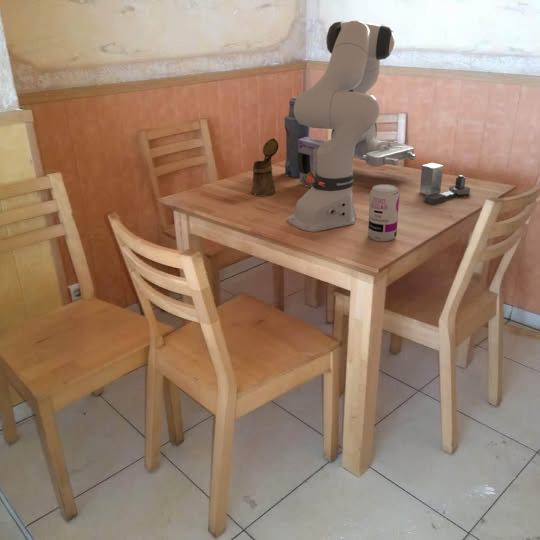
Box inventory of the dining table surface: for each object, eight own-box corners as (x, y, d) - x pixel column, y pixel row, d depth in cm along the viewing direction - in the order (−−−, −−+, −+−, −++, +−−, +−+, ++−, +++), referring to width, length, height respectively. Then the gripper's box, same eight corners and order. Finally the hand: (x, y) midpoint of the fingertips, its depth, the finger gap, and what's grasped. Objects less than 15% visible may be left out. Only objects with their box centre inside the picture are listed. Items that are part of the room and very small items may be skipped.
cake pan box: (297, 183, 213) (296, 137, 205) (307, 181, 216) (307, 135, 208) (327, 196, 199) (328, 147, 191) (339, 193, 201) (340, 144, 193)
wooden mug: (285, 186, 210) (284, 139, 202) (267, 197, 199) (266, 147, 191) (265, 183, 214) (263, 137, 206) (246, 194, 204) (244, 145, 196)
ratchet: (457, 189, 200) (459, 171, 198) (473, 194, 195) (476, 176, 192) (420, 200, 191) (422, 182, 188) (436, 205, 186) (438, 187, 183)
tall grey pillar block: (430, 196, 195) (433, 168, 190) (419, 192, 199) (422, 165, 194) (440, 193, 197) (443, 165, 193) (429, 189, 201) (431, 162, 197)
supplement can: (394, 231, 167) (398, 183, 161) (397, 242, 160) (401, 192, 153) (367, 231, 168) (369, 183, 162) (368, 242, 161) (371, 192, 154)
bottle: (283, 172, 227) (281, 96, 214) (306, 170, 229) (306, 94, 215) (288, 178, 219) (286, 100, 206) (312, 176, 220) (312, 98, 207)
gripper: (358, 149, 207) (385, 156, 197) (398, 139, 217) (425, 146, 207) (358, 165, 210) (384, 174, 200) (397, 155, 220) (423, 163, 210)
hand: (405, 159), depth 203 cm, fingers open, 8 cm apart
